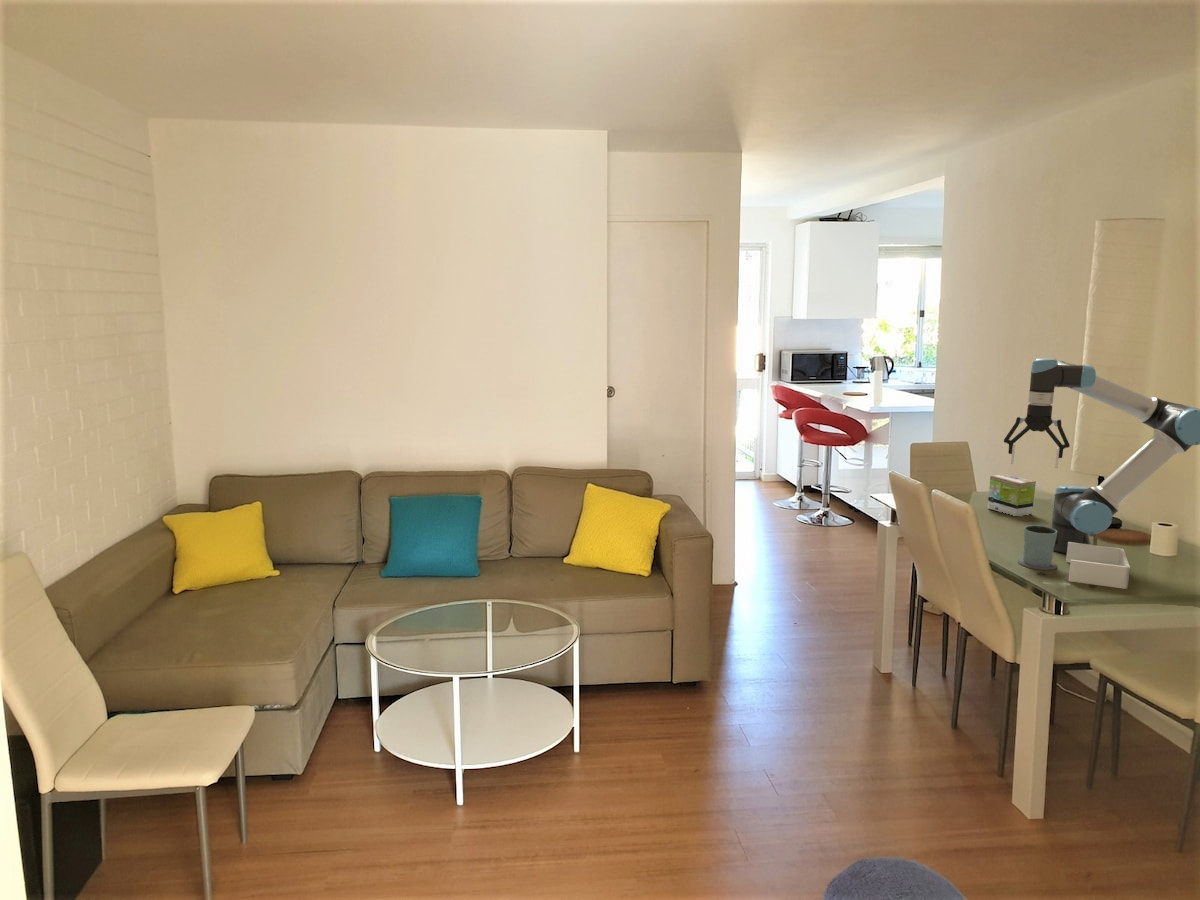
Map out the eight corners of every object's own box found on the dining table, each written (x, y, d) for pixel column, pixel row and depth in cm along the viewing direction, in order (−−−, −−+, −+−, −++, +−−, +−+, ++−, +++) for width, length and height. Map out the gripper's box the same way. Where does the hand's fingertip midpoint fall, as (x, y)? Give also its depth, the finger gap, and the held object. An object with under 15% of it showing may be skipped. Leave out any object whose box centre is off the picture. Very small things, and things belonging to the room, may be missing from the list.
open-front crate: (1065, 561, 303) (1068, 541, 301) (1120, 568, 296) (1123, 548, 294) (1068, 581, 282) (1071, 560, 281) (1127, 589, 275) (1130, 567, 274)
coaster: (1018, 557, 307) (1018, 555, 307) (1056, 562, 302) (1056, 560, 302) (1017, 566, 296) (1017, 565, 296) (1057, 572, 291) (1057, 570, 291)
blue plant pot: (1046, 559, 303) (1050, 525, 301) (1058, 568, 293) (1062, 533, 291) (1016, 558, 304) (1019, 524, 302) (1027, 567, 294) (1030, 532, 292)
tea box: (986, 509, 373) (989, 475, 370) (1003, 506, 377) (1006, 473, 375) (1016, 517, 360) (1019, 482, 357) (1033, 515, 364) (1036, 480, 361)
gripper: (999, 402, 300) (993, 463, 304) (1082, 407, 289) (1075, 470, 293) (1000, 400, 306) (994, 459, 310) (1081, 405, 296) (1074, 466, 300)
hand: (1033, 465), depth 302 cm, fingers open, 13 cm apart
